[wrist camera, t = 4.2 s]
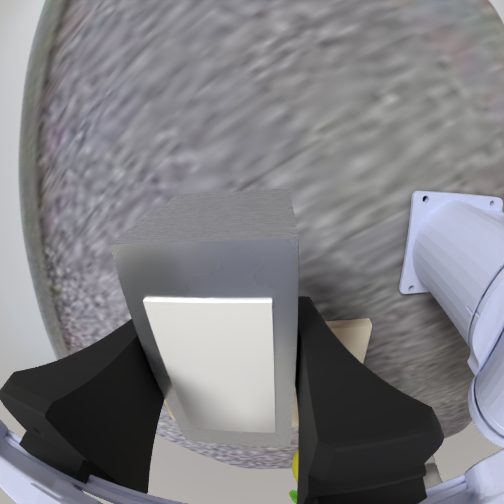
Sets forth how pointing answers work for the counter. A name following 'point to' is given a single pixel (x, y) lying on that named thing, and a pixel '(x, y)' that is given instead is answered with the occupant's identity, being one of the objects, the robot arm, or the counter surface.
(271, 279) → the block
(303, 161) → the counter surface
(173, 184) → the counter surface
